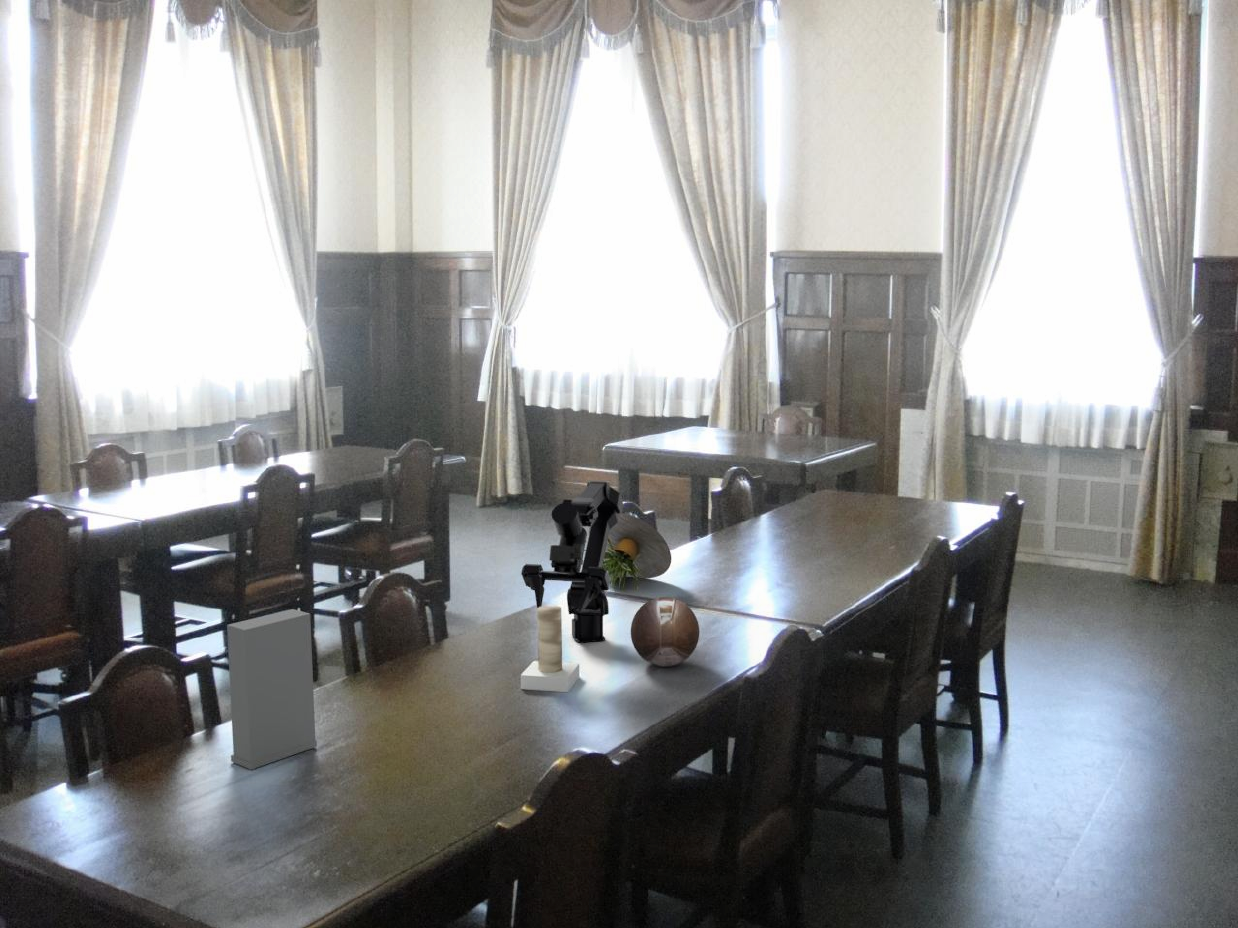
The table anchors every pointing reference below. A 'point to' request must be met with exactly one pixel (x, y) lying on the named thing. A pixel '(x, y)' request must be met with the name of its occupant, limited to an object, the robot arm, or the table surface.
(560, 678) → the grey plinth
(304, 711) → the upright grey box
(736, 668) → the table surface
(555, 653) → the birch column
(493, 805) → the table surface
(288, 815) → the table surface
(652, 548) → the potted plant
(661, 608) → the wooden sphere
